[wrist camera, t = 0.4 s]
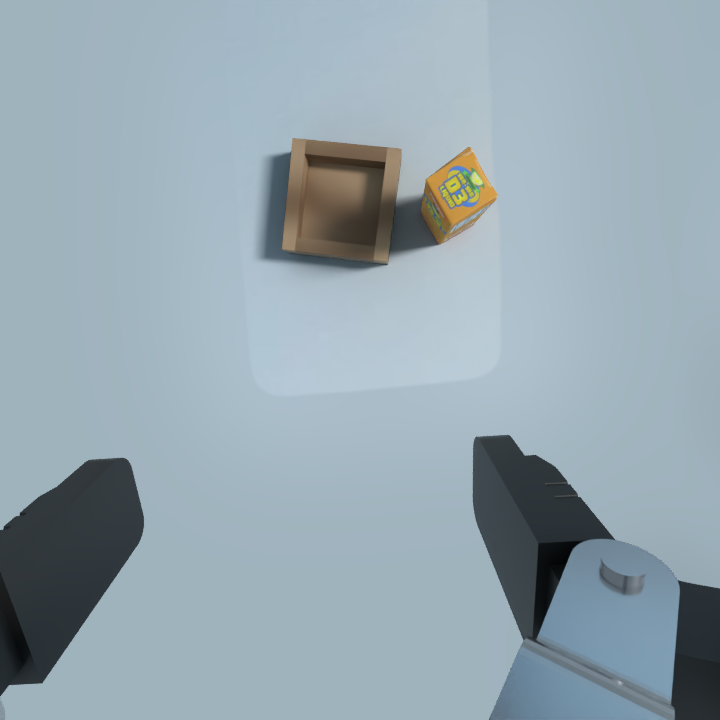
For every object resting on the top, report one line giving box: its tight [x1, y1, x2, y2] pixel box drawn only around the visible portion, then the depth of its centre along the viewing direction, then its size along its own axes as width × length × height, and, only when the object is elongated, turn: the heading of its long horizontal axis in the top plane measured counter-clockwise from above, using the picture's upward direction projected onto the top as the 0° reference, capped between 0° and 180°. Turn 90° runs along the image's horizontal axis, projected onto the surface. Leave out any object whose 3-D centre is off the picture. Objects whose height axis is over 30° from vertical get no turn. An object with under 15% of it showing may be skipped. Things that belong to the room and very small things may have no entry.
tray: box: [282, 138, 401, 265], centre depth 34 cm, size 8×8×2 cm
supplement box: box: [420, 147, 498, 244], centre depth 29 cm, size 3×3×10 cm
